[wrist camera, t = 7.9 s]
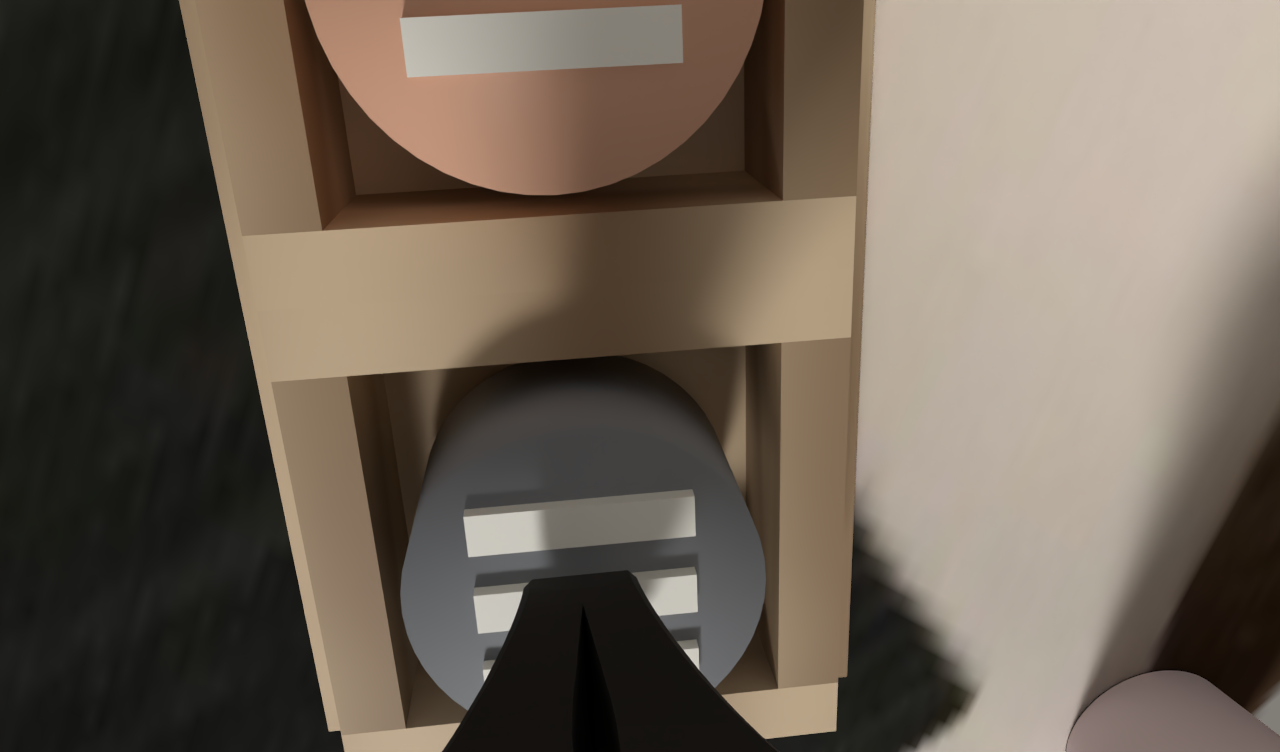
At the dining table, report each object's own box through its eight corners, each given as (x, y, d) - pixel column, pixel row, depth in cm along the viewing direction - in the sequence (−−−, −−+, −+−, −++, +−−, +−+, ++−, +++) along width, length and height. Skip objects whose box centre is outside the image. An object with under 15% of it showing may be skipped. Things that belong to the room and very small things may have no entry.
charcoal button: (443, 632, 17) (423, 769, 14) (404, 363, 15) (372, 453, 12) (727, 604, 17) (768, 730, 14) (724, 339, 15) (770, 419, 12)
